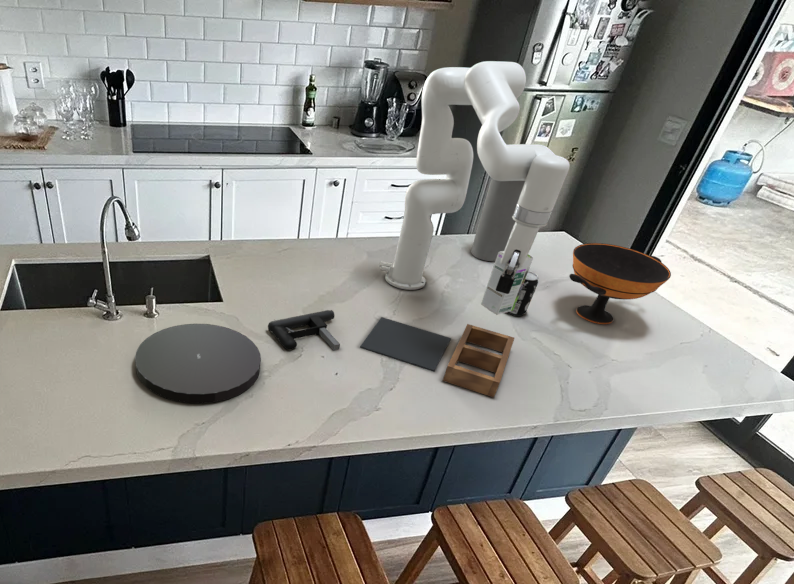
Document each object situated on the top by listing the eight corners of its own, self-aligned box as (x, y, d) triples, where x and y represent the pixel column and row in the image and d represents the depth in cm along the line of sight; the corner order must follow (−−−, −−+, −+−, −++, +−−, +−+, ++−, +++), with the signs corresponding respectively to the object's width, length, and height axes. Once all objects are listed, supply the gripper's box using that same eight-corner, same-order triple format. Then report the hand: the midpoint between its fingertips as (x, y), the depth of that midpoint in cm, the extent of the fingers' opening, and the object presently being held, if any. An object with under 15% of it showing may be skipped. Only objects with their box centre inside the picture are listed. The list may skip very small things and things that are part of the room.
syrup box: (496, 315, 140) (517, 261, 131) (479, 304, 144) (498, 250, 135) (513, 311, 142) (535, 257, 133) (495, 300, 146) (515, 246, 137)
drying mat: (359, 347, 151) (360, 346, 150) (381, 318, 163) (381, 316, 163) (434, 371, 144) (434, 370, 144) (450, 339, 157) (451, 338, 157)
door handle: (359, 337, 150) (328, 305, 160) (292, 352, 142) (264, 317, 153) (357, 347, 152) (326, 315, 162) (291, 362, 145) (263, 327, 155)
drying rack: (442, 380, 141) (447, 365, 138) (462, 337, 158) (467, 323, 155) (493, 397, 137) (499, 382, 134) (509, 351, 154) (514, 337, 151)
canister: (510, 256, 203) (547, 154, 182) (494, 266, 196) (531, 160, 174) (477, 245, 210) (510, 144, 188) (461, 254, 202) (492, 150, 181)
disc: (123, 343, 145) (122, 333, 143) (233, 325, 155) (234, 315, 153) (154, 416, 124) (153, 405, 122) (279, 389, 134) (281, 379, 132)
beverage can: (522, 307, 174) (536, 271, 167) (527, 318, 169) (542, 281, 162) (500, 304, 174) (513, 268, 167) (505, 315, 169) (519, 279, 162)
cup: (591, 349, 157) (620, 292, 146) (520, 306, 174) (542, 252, 163) (669, 324, 172) (701, 271, 161) (596, 287, 189) (621, 236, 178)
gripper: (520, 199, 135) (495, 267, 146) (508, 222, 123) (482, 295, 134) (553, 206, 133) (525, 275, 144) (544, 231, 120) (515, 304, 132)
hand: (505, 284), depth 139 cm, fingers closed on syrup box, 7 cm apart
